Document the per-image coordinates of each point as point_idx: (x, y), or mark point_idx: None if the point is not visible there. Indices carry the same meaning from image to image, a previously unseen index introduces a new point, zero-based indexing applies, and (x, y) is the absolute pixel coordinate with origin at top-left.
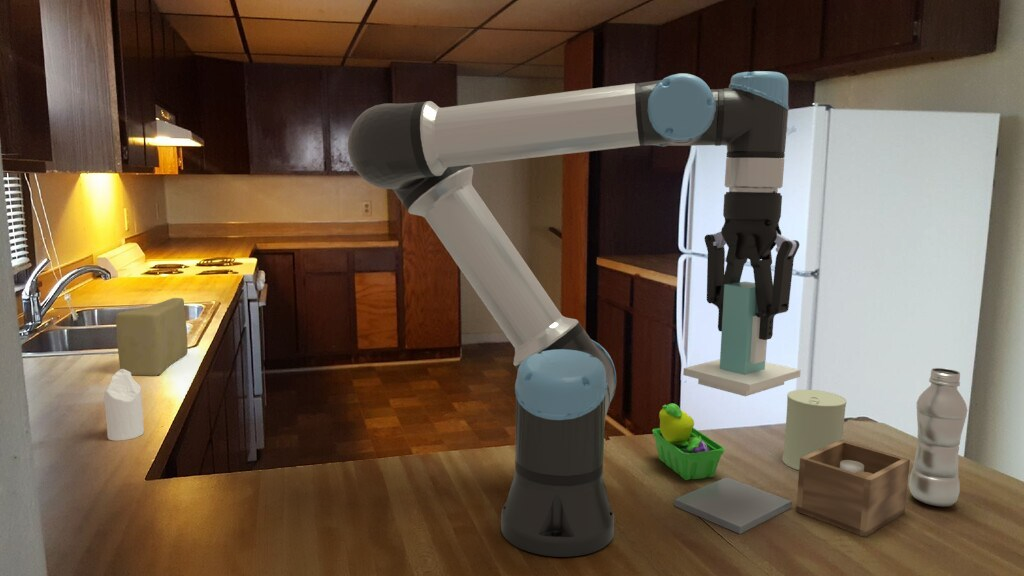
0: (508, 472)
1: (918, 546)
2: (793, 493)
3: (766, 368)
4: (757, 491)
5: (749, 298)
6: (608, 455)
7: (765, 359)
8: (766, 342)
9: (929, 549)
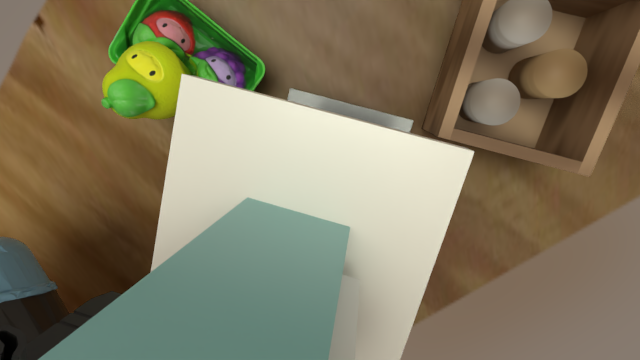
0: (32, 252)
1: (616, 140)
2: (401, 55)
3: (352, 211)
4: (353, 116)
5: None
6: (88, 98)
7: (359, 283)
8: (356, 328)
9: (633, 140)
